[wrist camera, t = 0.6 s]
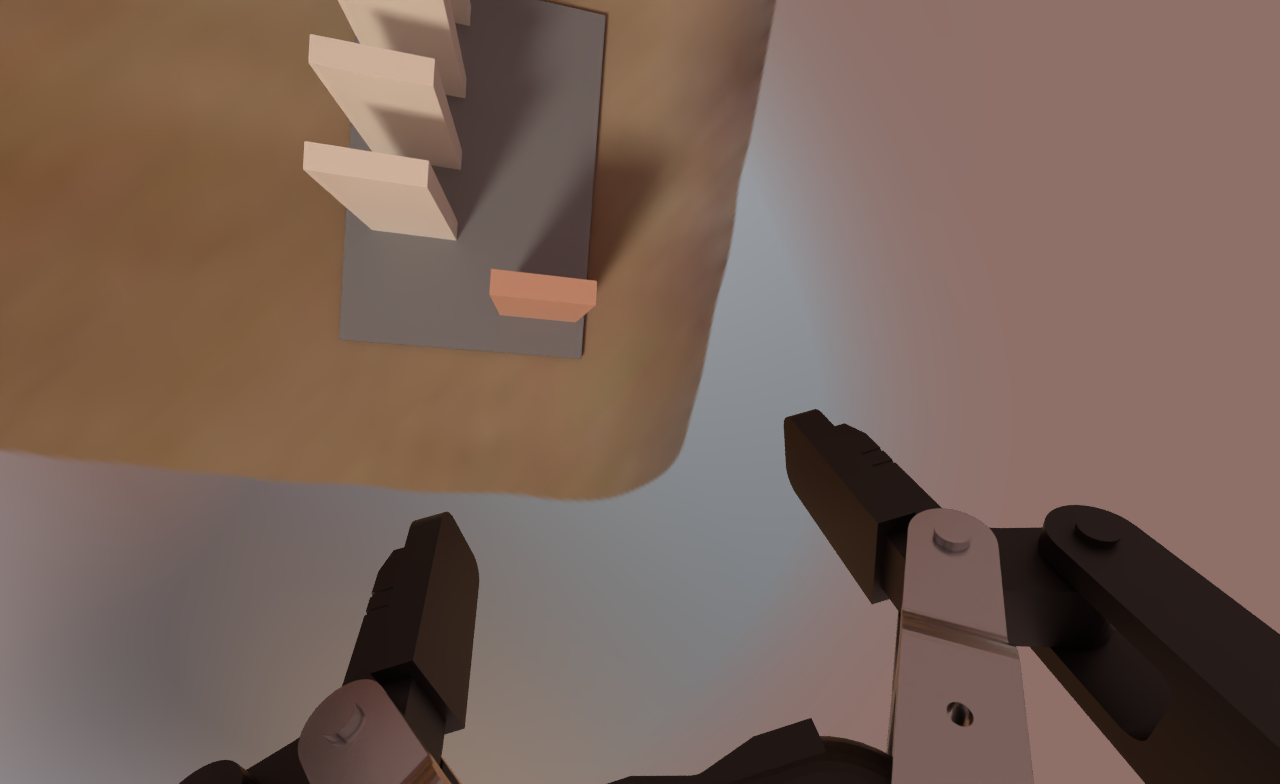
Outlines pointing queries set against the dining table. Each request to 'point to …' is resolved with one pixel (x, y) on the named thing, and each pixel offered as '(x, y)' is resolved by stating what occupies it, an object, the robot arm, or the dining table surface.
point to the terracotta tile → (541, 295)
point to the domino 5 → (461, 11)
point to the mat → (494, 191)
